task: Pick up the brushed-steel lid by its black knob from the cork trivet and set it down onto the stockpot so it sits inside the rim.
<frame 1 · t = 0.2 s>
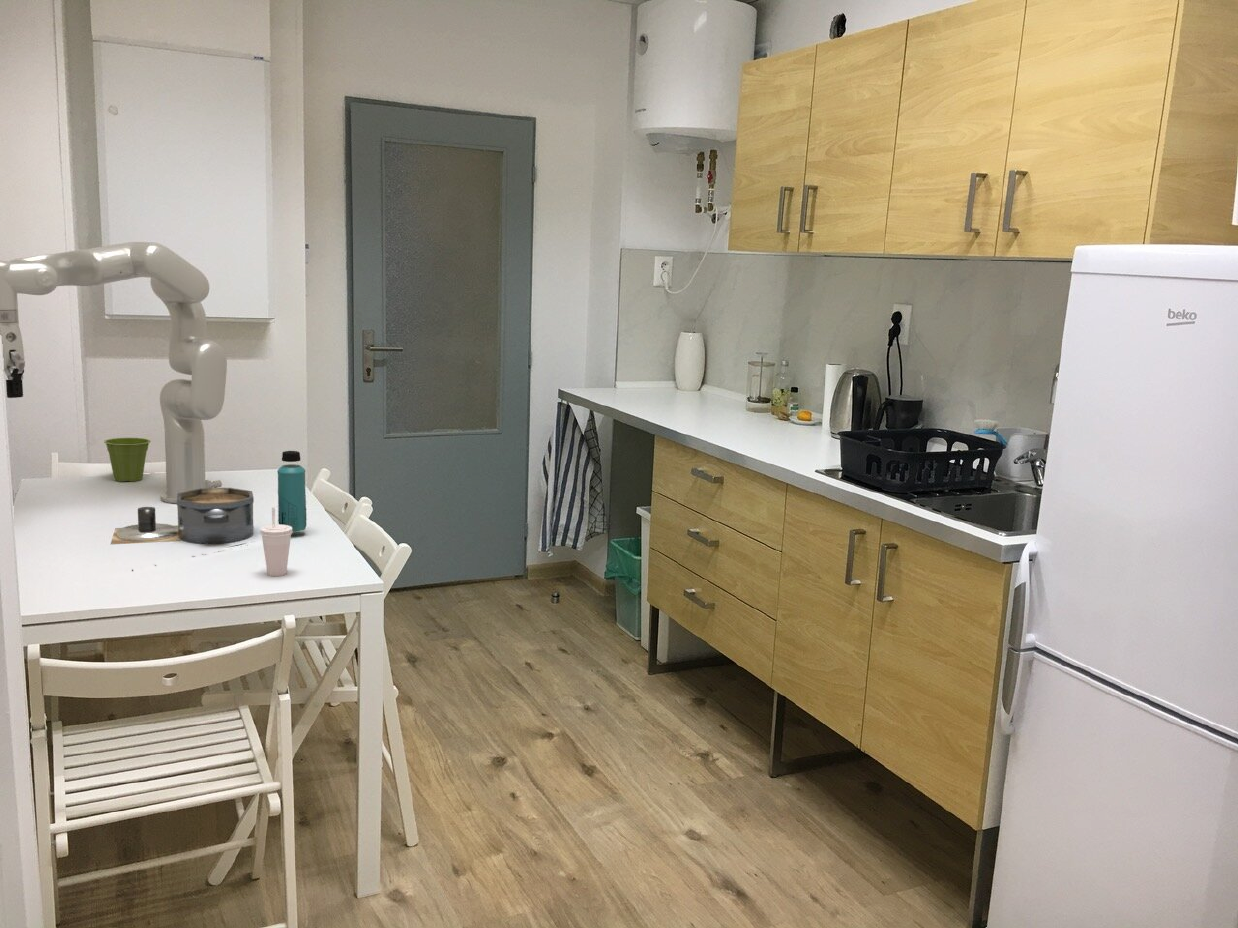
hand: (3, 395, 226), 31 cm above the table, tool pointing down, fingers open, 9 cm apart
stockpot: (216, 538, 233), on the table
beverage bottle: (292, 535, 240), on the table
lid: (147, 534, 230), point 1 cm above the table, touching trivet
trivet: (147, 538, 230), on the table
plant pot: (129, 480, 288), on the table
smoothie: (277, 574, 210), on the table
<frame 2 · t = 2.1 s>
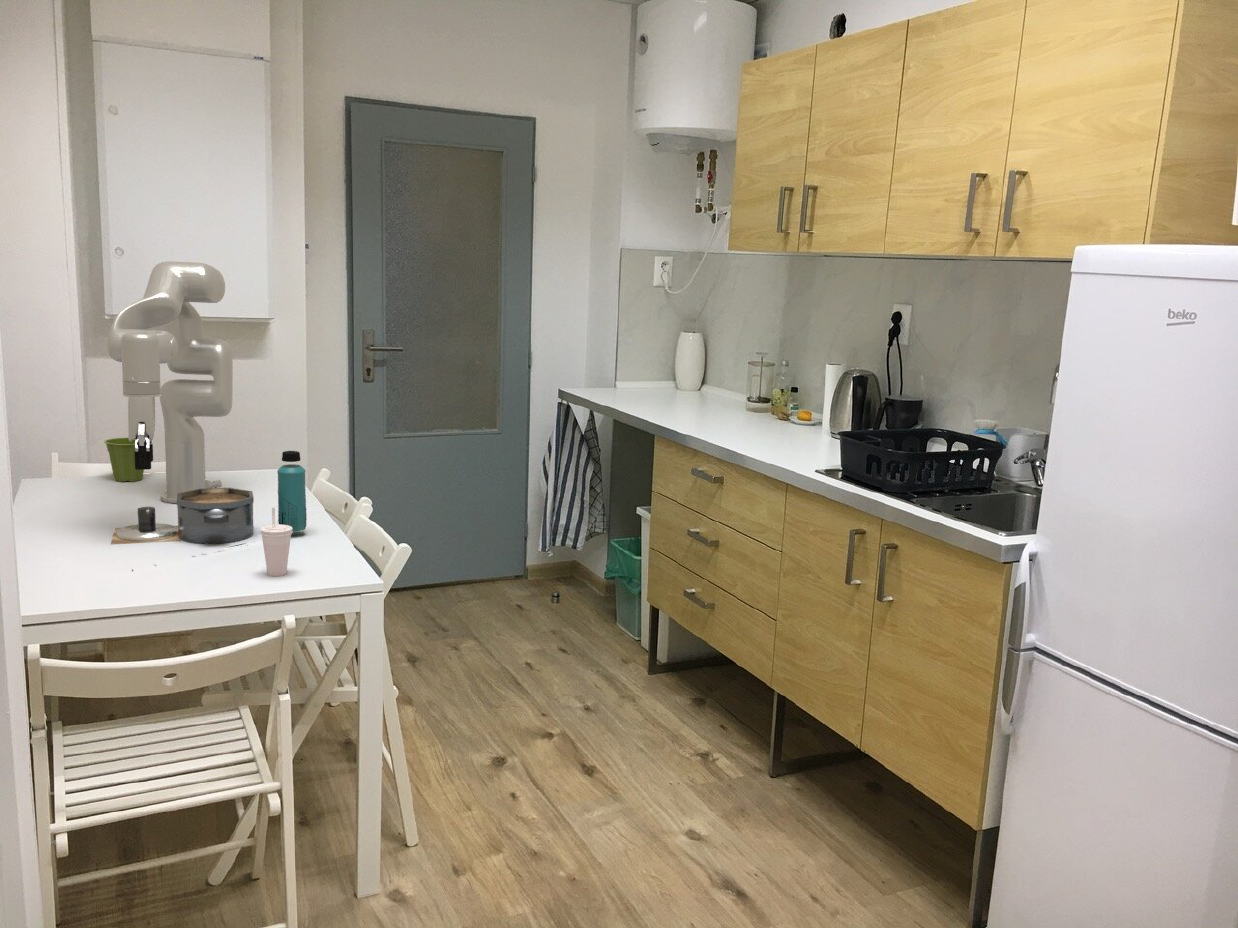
hand: (144, 465, 227), 17 cm above the table, tool pointing down, fingers open, 9 cm apart
nothing on the table moved.
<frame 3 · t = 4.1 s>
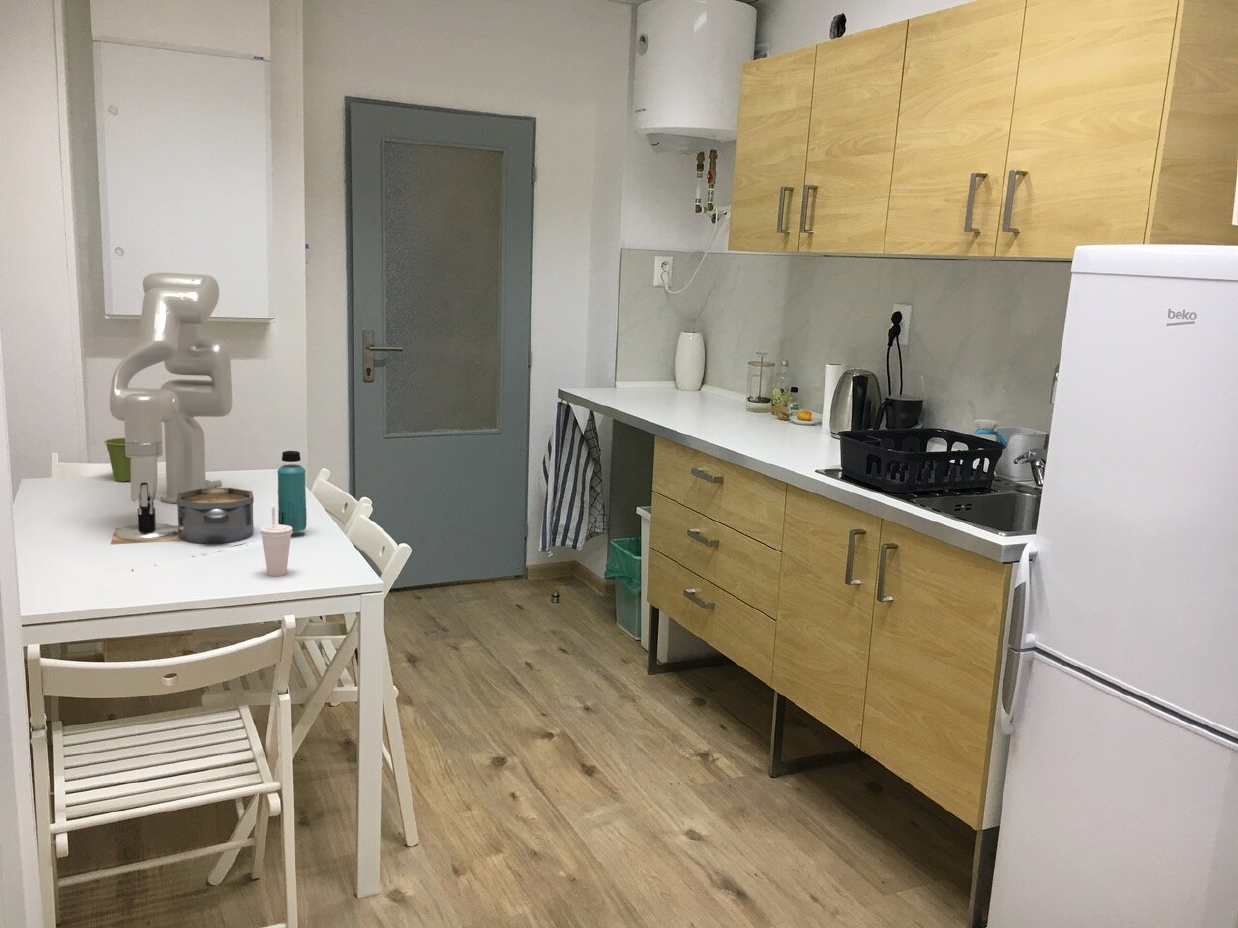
hand: (147, 528, 230), 2 cm above the table, tool pointing down, fingers closed on lid, 3 cm apart
lid: (147, 534, 230), point 1 cm above the table, touching gripper, trivet
everything else where it was.
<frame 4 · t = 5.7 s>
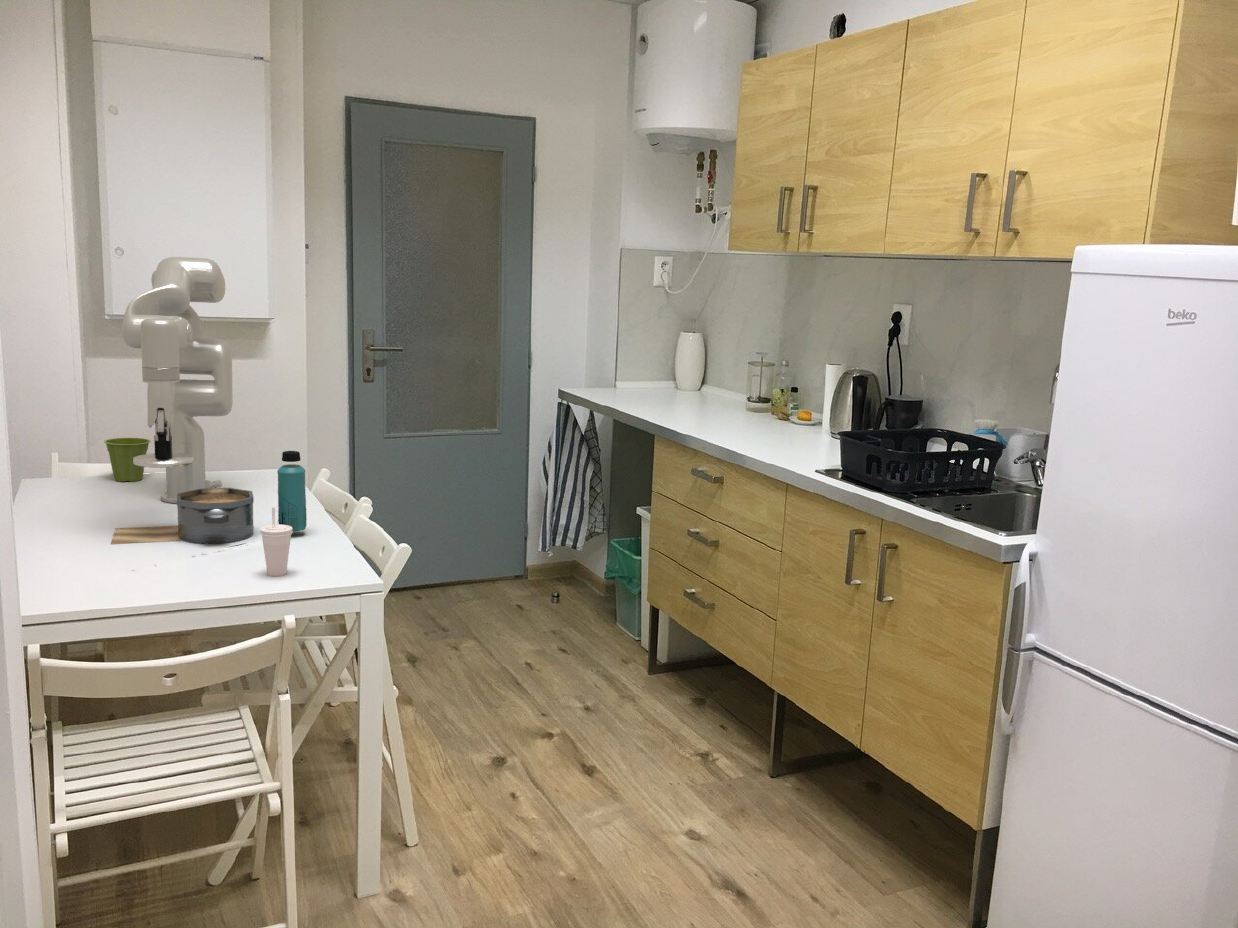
hand: (163, 455, 228), 19 cm above the table, tool pointing down, fingers closed on lid, 3 cm apart
lid: (163, 462, 228), point 18 cm above the table, touching gripper
everything else where it was.
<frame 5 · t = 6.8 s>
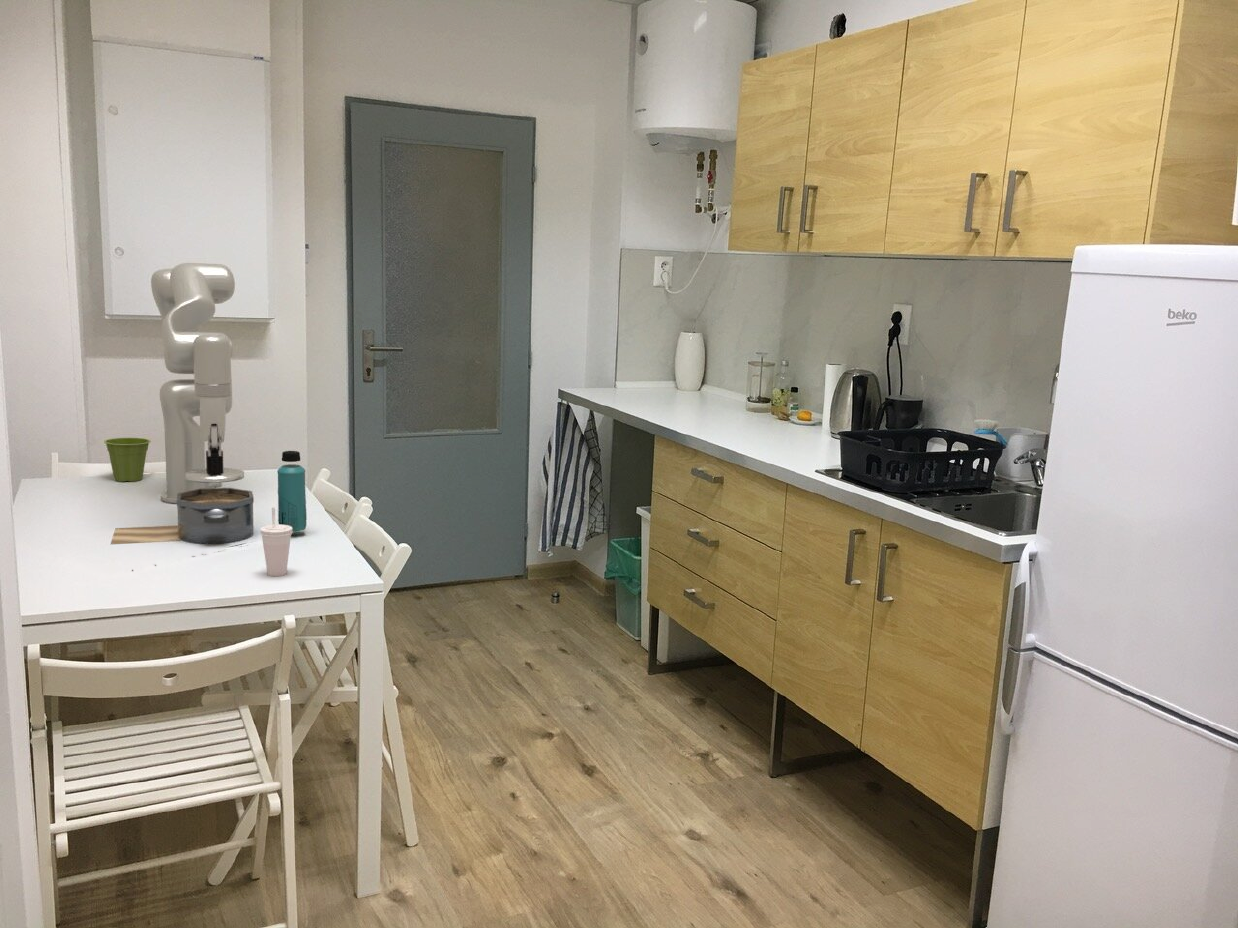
hand: (215, 471, 230), 16 cm above the table, tool pointing down, fingers closed on lid, 3 cm apart
lid: (215, 477, 230), point 14 cm above the table, touching gripper
everything else where it was.
when the fingers open (12 cm above the table, at t = 7.5 s): lid drops 2 cm, resting on stockpot.
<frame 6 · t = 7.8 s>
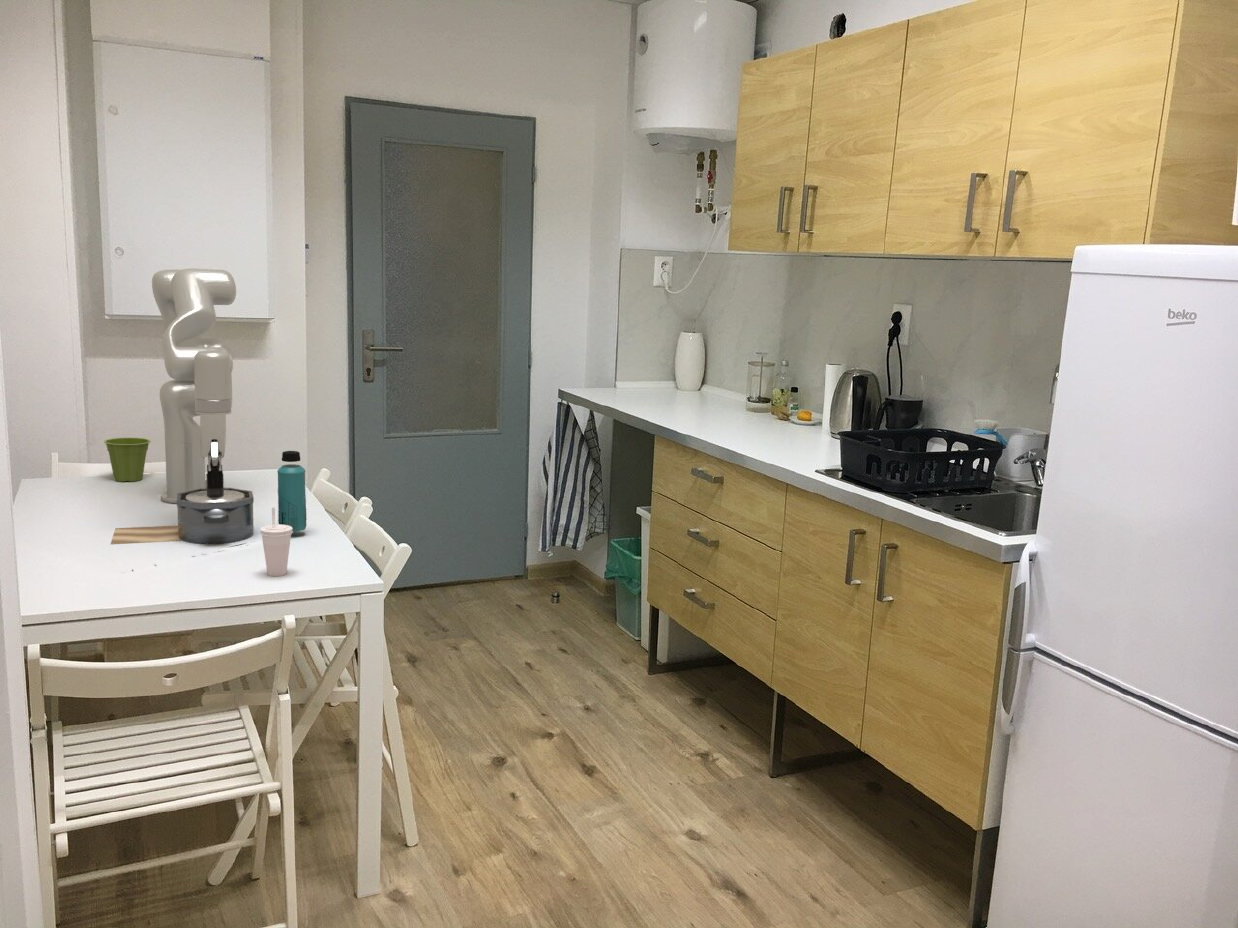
hand: (215, 484, 231), 13 cm above the table, tool pointing down, fingers open, 6 cm apart
lid: (215, 499, 231), point 9 cm above the table, touching stockpot
everything else where it was.
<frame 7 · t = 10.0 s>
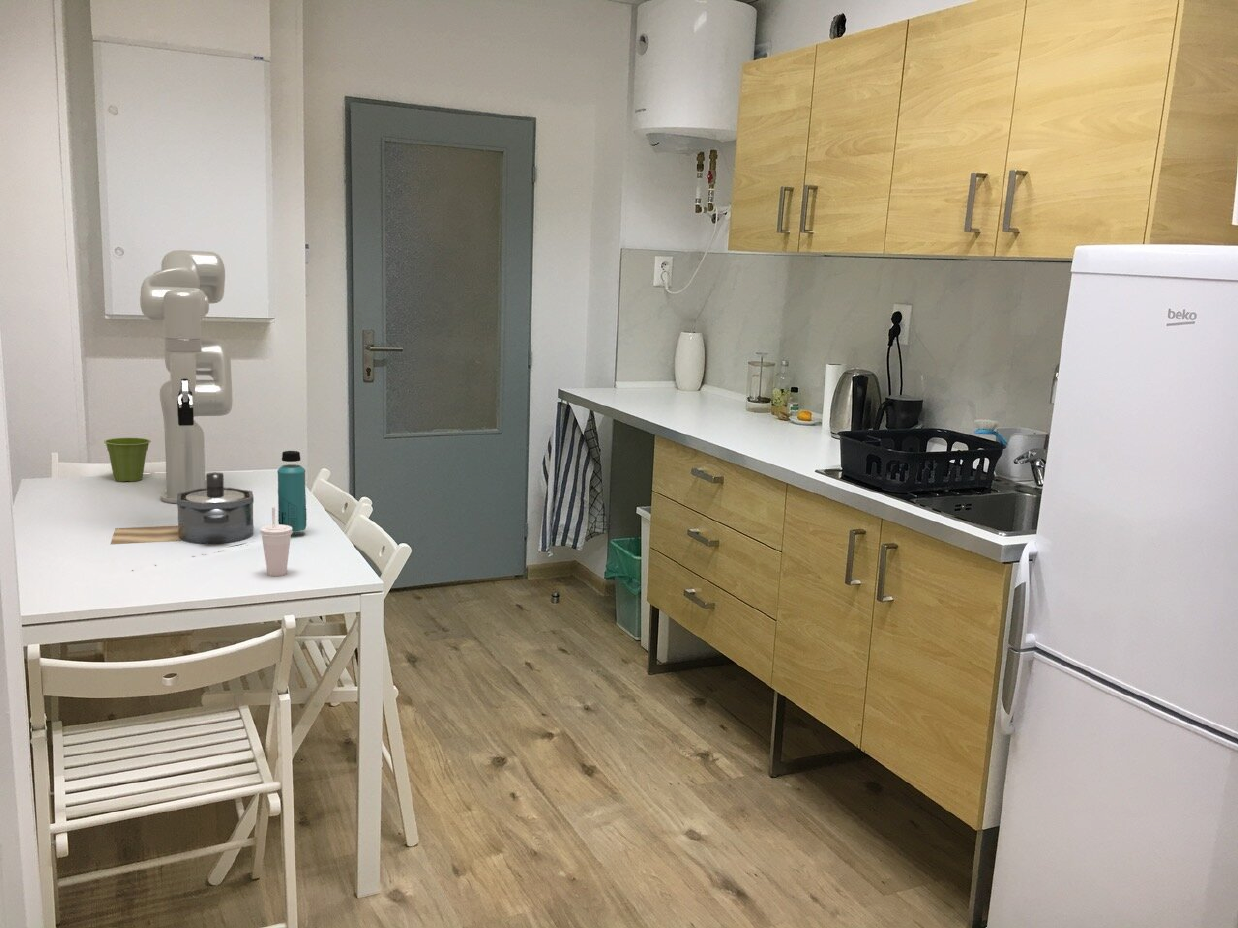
hand: (185, 421, 231), 26 cm above the table, tool pointing down, fingers open, 9 cm apart
nothing on the table moved.
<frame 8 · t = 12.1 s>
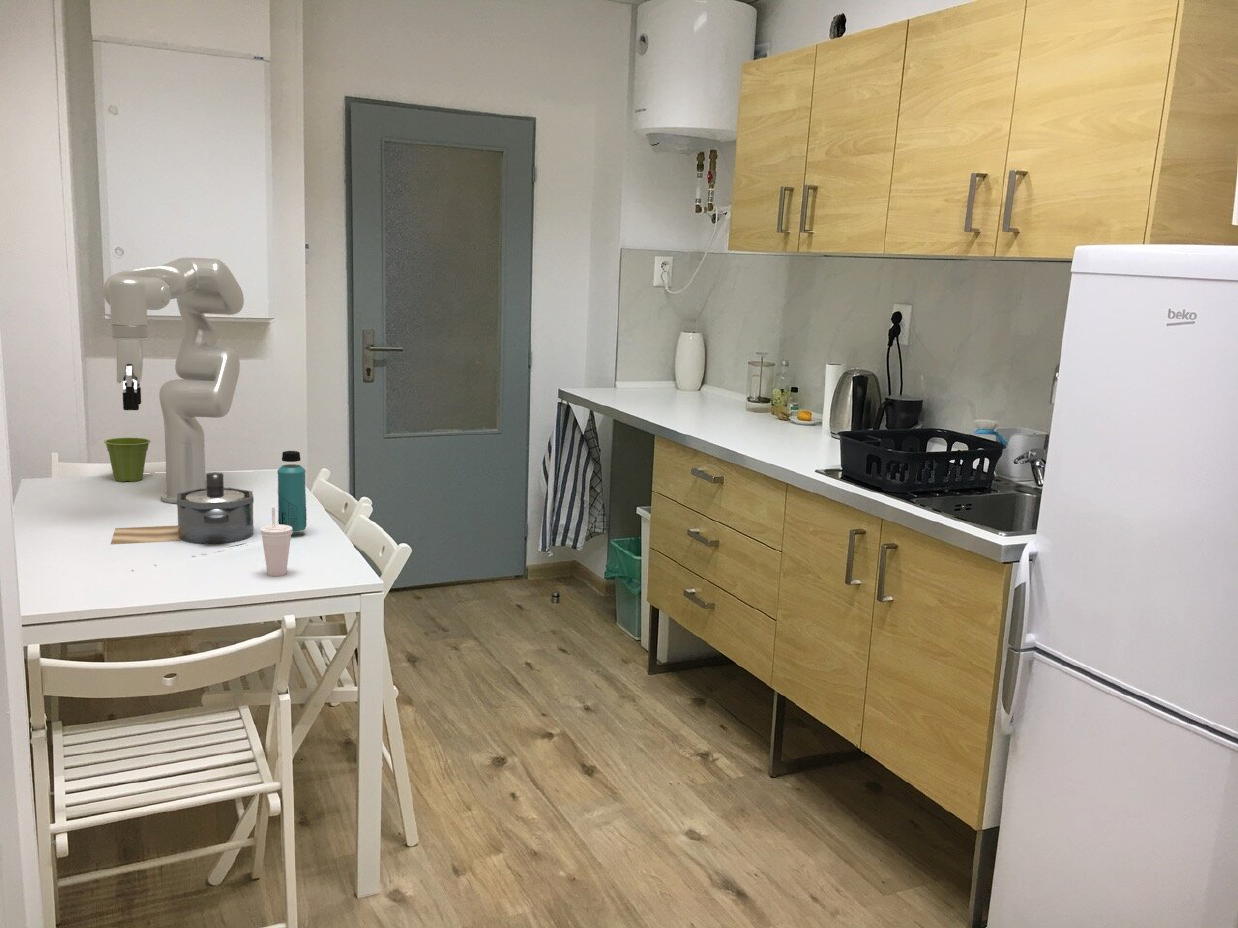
hand: (132, 407, 236), 28 cm above the table, tool pointing down, fingers open, 9 cm apart
nothing on the table moved.
at the end: lid 0.1 cm off-centre on the stockpot, point 9.1 cm above the stockpot's base; lid tilted 0°; the gripper is holding nothing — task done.
